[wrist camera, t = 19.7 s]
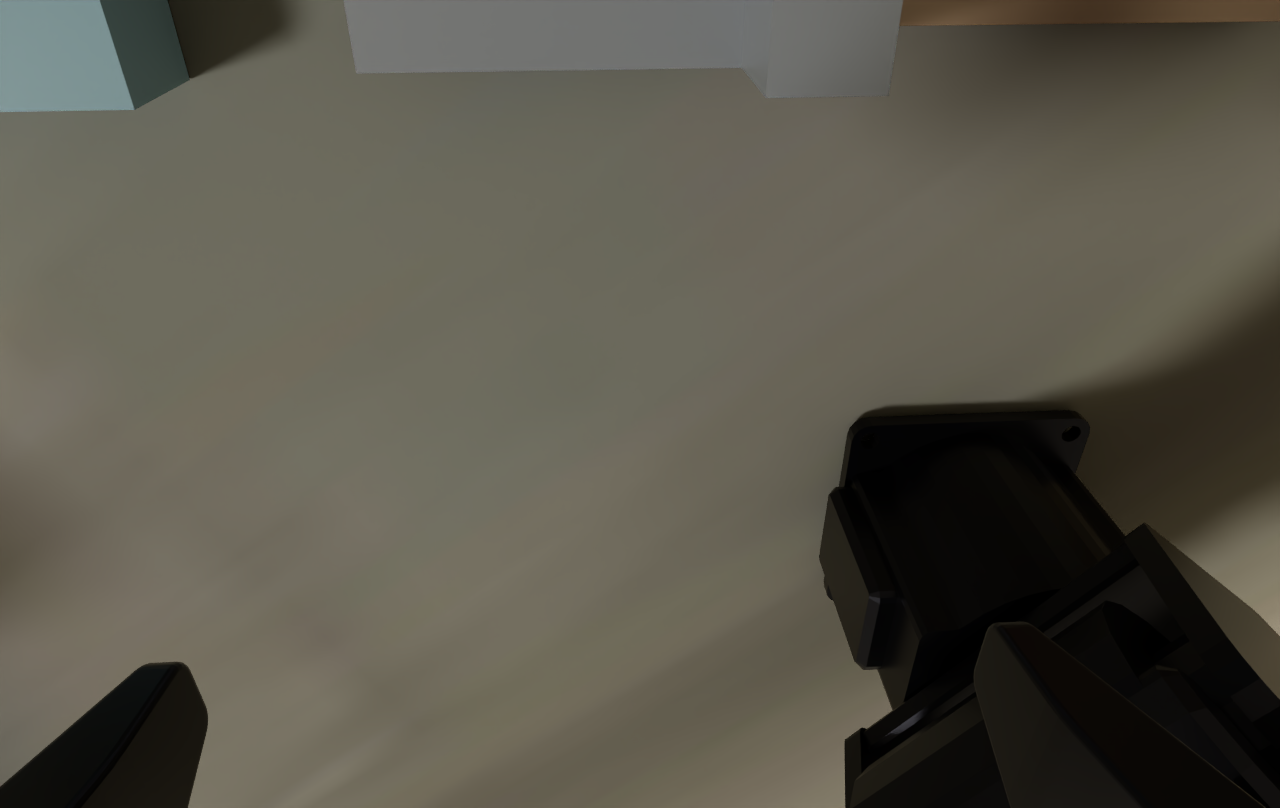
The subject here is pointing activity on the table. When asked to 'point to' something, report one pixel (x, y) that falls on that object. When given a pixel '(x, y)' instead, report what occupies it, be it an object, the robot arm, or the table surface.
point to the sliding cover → (638, 39)
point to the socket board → (87, 54)
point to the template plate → (1084, 11)
